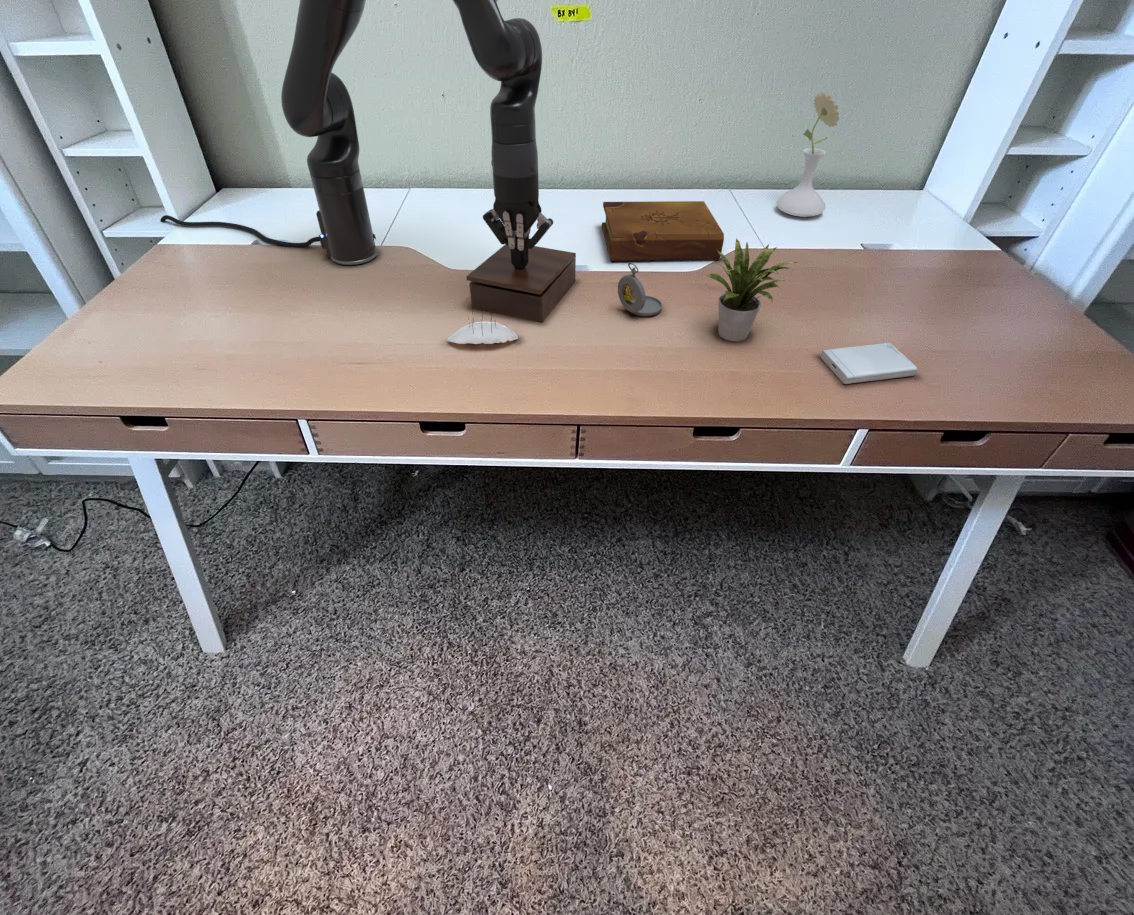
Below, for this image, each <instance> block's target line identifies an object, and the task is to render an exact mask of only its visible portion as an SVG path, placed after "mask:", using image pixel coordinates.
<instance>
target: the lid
mask: <svg viewBox="0 0 1134 915" xmlns="http://www.w3.org/2000/svg"><path fill="white" fill-rule="evenodd" d="M575 257H577V253H576V252H572V251H566V250H560V249H554V248H549V247H543V246H537V245H535V246H534V247H533V248H532V249H528V259H529V262H528V264H527V265H526V266H525V267H524V269H523V270H520V269H515V268H514V265H512V263H511V249H510V248H509V246H508V245H506V244H504V245H503V246H501V247H500V248H499V249H498V250H497V251H495V252H494V253H493V254H491V255H490V256H489V257H488V258H487V259H486V260H484V261H483V262H482V263H481V264H479V265H478V266H477V267H475V269H473V270H472V271H471V272H470V273H468V274H467V275H466V277H465V278H466V281H467V282H471V281H472V282H477V283H483V284H488V285H493V286H498V287H503V288H509V289H514V290H519V291H524V292H529V293H534V294H541V293H542V292H543V291H544V290H545V289H546V288H547V287H548V286H549V285H550V284H551V283H552V282H553V280H554V279H555V278H556V277H557V276H558V275H559V274H560V273H561V272H562V271H563V270H564V269H565V268H566V267H567V266H568V265H569V263H570V262H571V261H572V260H573V259H574V258H575Z"/></svg>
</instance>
